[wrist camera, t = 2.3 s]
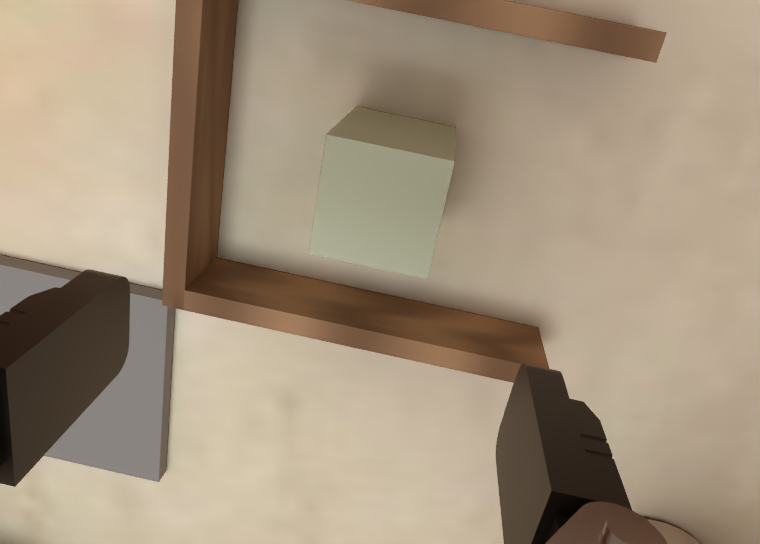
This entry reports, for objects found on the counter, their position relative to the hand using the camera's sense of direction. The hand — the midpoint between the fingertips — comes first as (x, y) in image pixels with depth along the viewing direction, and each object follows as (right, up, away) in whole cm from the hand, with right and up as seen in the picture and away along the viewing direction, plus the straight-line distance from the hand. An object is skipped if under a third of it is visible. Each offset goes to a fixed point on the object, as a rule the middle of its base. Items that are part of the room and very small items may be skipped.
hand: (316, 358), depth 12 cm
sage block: (+2, +7, +16) cm, 17 cm away
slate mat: (-16, -4, +22) cm, 28 cm away
